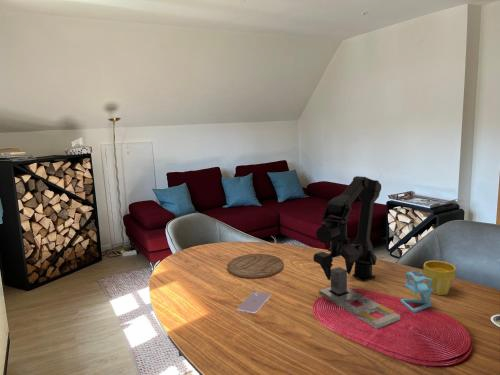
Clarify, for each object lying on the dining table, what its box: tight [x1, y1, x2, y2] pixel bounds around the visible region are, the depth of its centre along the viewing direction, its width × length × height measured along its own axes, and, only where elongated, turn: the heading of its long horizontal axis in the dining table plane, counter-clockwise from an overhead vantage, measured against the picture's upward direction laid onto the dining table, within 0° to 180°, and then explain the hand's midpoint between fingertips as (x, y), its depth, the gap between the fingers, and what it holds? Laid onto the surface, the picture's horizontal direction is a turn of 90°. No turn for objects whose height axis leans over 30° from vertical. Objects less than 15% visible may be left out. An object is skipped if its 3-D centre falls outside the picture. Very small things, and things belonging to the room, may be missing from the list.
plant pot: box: [422, 260, 457, 296], centre depth 137 cm, size 10×10×10 cm
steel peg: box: [330, 266, 348, 297], centre depth 137 cm, size 4×4×10 cm
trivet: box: [227, 253, 285, 280], centre depth 168 cm, size 25×25×2 cm
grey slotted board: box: [318, 286, 401, 330], centre depth 130 cm, size 10×28×2 cm, turn 28°
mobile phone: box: [236, 290, 271, 314], centre depth 136 cm, size 8×1×15 cm
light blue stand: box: [400, 270, 433, 313], centre depth 127 cm, size 8×8×12 cm
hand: (338, 276), depth 137 cm, fingers open, 9 cm apart
